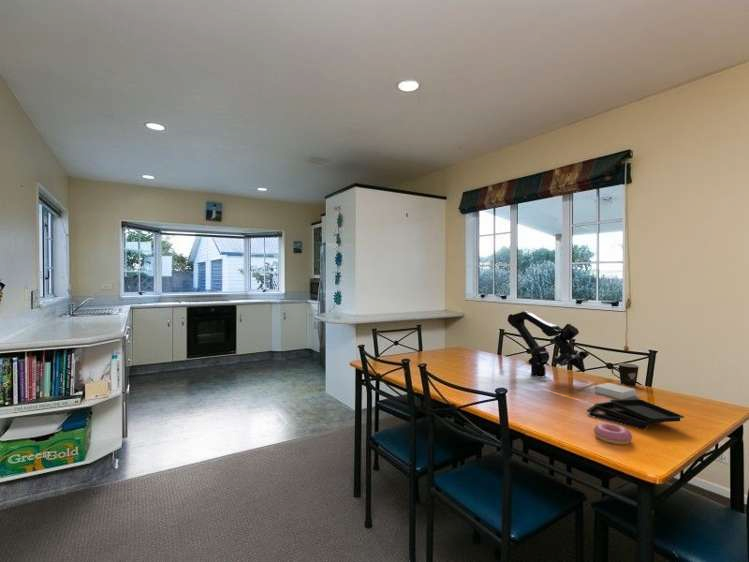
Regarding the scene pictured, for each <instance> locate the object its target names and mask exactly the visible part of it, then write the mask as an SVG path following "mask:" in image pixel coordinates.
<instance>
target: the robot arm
mask: <svg viewBox="0 0 749 562" xmlns="http://www.w3.org/2000/svg"><path fill="white" fill-rule="evenodd" d="M525 321H528V322H529V323H531V324H533V325H535V326H536V327H538V328H539V329H540V330H541V331H542V333H543V334H544V335H545V336H547V337H553V338H550V341H549V344H555V345H556V347H558V349H559V350H558V353H559V355H558V356H554V357H553V361H554V363H555V364H556V365H559V366H561V367H563V366H567V365H571V366H574V367H575V368H577V370H579V371H581V372H582V373H586V368H585V364H584V359H586V358H587V357H588V356H590V353H589V352H588V351H586V350H580V351H578V350H575V349H574V347H573V346H574V345H573V343H570V342H569V341H572V340H573V339H574V338H575V337H577V335H579V333H580V331H579V329H578V328H577V327H576V326H574V325H572V324H571V323H566V325H565V326H564V327H560V326H559V325H557V324H554V323H551V322H548V321H545V320H544V319H542V318H540V317H539V316H537V315H535V314H534V313H533V312H531V311H529V310H524V311H521V312H518V313H513V314H509V315H508V316H507V323H508V324H509V325H510V326H511V327H513V328H514V329H516V330H517V332H518V333H519V335H520V336H521V338H522V339H523V341H524V342H525V343H526V345H527V346H528V348H529V349H530V356H531V357H530V358H529V359H528V363H529V365H531V369H530V372H531V373H530V376H531V377H538V378H544V377H545V375H546V370H547V369H546V368H547V367H546V365H547V364H548V362H549V360H550V354H549V351H548V350H547V348H546V347H545V346H541V345H539V344H538V343H537V340H536V339H535V338H534V337H533V335H532V333H530V331H529V329H528V328H527V327H526V325H525ZM543 376H544V377H543Z"/></svg>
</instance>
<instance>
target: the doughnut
mask: <svg viewBox="0 0 749 562" xmlns="http://www.w3.org/2000/svg"><path fill="white" fill-rule="evenodd" d="M593 431H594V432H593V433H594V435H595V436H596V437H597V438H598V439H599V440H601V441H603V442H606V443H608V444H611V443H612V444H613V445H617V444H619V446H623V445H624V446H625V445H628V444H630V443H631V442H632V439H633V434H632V433H631V431H630V430H628V429H627V428H625V427H624V426H621V425H618V424H614V423H613V424H612V423H605V422H604V423H602V422H601V423H598V424H596V425H595V426H594V428H593Z"/></svg>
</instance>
